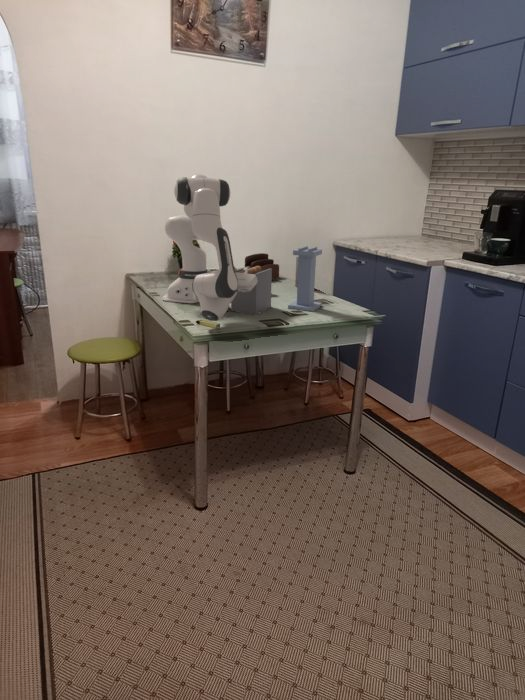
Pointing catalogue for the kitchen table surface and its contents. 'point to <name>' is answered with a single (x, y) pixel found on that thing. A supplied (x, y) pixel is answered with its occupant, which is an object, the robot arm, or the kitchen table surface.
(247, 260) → the letter holder
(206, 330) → the kitchen table surface
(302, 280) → the shelf post
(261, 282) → the tray stand
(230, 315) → the kitchen table surface
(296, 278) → the flask
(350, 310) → the kitchen table surface
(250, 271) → the dowel
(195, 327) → the kitchen table surface
